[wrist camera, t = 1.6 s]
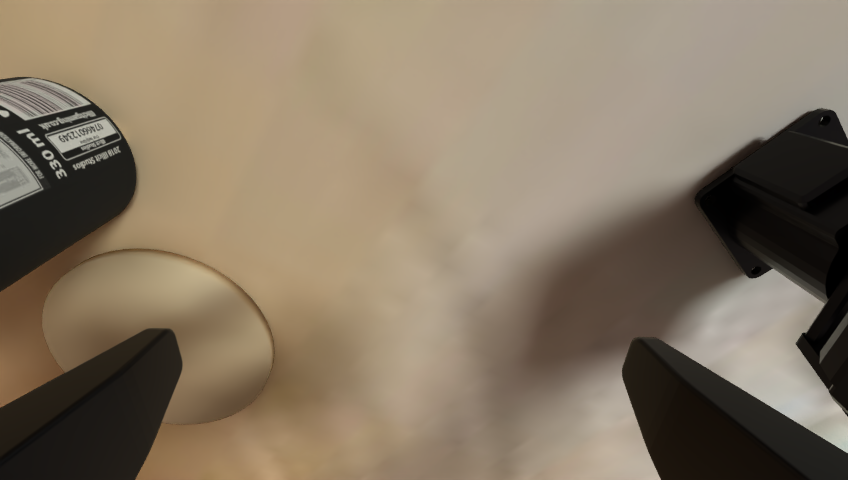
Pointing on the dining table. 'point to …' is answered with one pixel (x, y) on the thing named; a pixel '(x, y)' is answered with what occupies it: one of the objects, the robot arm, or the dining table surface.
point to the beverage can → (55, 172)
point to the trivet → (165, 326)
